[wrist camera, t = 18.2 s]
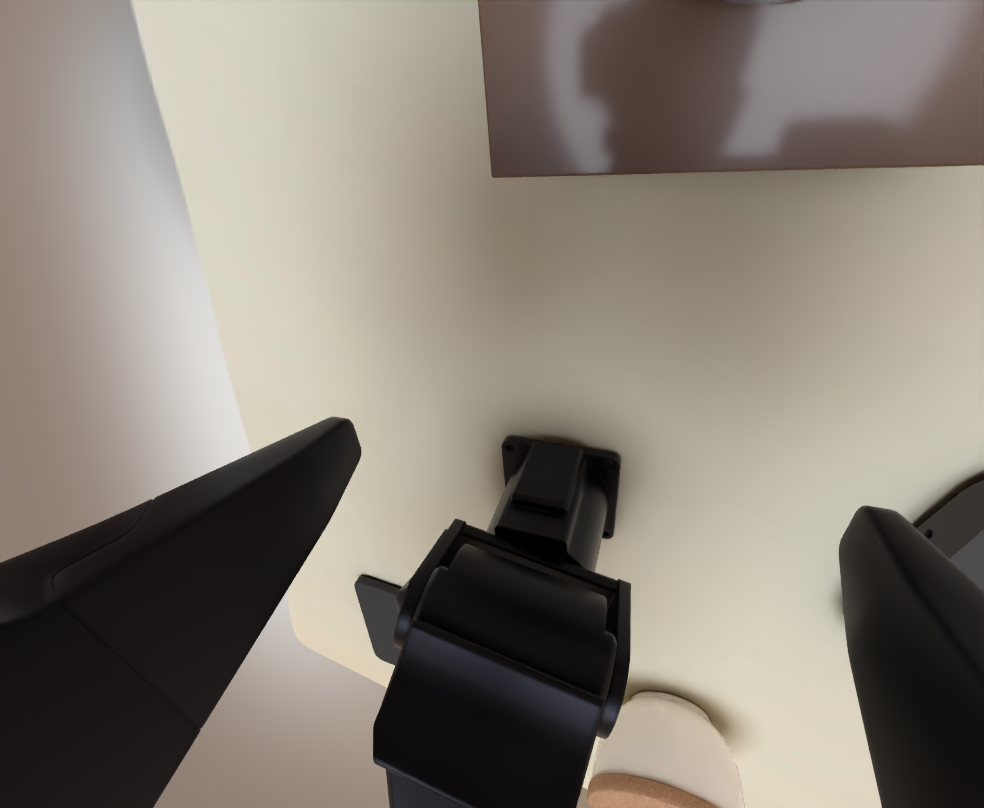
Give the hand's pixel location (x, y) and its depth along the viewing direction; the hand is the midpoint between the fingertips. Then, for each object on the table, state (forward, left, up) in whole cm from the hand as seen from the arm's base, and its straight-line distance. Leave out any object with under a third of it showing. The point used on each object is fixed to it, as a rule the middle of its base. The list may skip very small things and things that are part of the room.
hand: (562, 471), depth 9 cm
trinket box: (-38, -6, -13) cm, 41 cm away
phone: (-38, +19, -13) cm, 44 cm away
